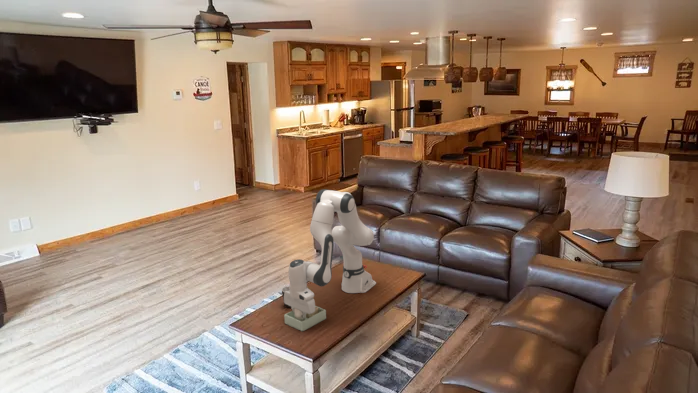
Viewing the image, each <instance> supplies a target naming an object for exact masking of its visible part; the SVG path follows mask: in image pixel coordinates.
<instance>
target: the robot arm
mask: <svg viewBox="0 0 698 393" xmlns="http://www.w3.org/2000/svg"><path fill="white" fill-rule="evenodd" d="M315 203H316V206H315V208H314V211H313V214H312V217H311V221H310V225H309V232H310V234H311V236H312V238H314V239H315V240H316V241H317V243H319V245H320V247H321V254H320V264H318V263H316V262H314V261H310V260H307V261H305V260H303V259H294V260H292V261H291V262H290V263H289V265H288V280H289V285H288V286H289V287H286V286H285V287H286V288H285V293H284V300H283V304H284V303H285V304H287V305H289V306H291V308H290V309H291V311H293V314H294V315H295V312H294V308H296V309H298V310H301V311H303V315H302V318H303V319H305V318H306V314H307V313H308V314H312V313H314V312H315V306H316V302H315V299H314V297H315V293H314V292H313V291H312V290H311V289H309V287H308V285H307V282H311V283H313V284H315V285H317V286H319V287H325V286H327V285H328V284H329V283H330V282H331V280H332V276H333V271H332V266H333V265H332V263H333V255H334V254H333V253H334V244H336V245H337V246H338V247H339V249H340V251H341V253H342V260H343V265H342V278H341V279H342V282H341V284H340V285H341V290H342V291H343V292H345V293H348V294H358V293H360V294H361V293H362V294H363V293H368V292H369V291H370V289H372V288H373V287H374V286H376V284H377V282H376V281H375V280H373V277H372V274H371V273H369V272H368V271H366V270H365V269H367V268H368V265H367V264H363V255H362V252H361V251H360V250H359V249H357V248H356V247H355V246H360V247H361V246H362V247H363V246H364V247H365V246H370V245H371V244H372V243H373V242H374V238H375V236H374V232H373V230H372V229H371V228H369V227H368V226H366V225H365V224H364V223H363V221H362V220H361V219H360V217H359V213H358V209H357V205H356V200H355V198H354V196H353V194H351V192H349V191H339V190H332V189H325V188H324V189H320V190H319V191H318V192H317V193H316V196H315ZM335 213H337V217H338V221H339V224H340V225H335V226H334V227H333V223H334V219H335V218H334V217H335Z"/></svg>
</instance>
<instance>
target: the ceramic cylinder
mask: <svg viewBox="0 0 698 393" xmlns="http://www.w3.org/2000/svg"><path fill="white" fill-rule="evenodd" d="M294 312H295V319H297V320H299V321H301V322H302V321H304V320H305V319H303V318H302V315H303V311H301V310H298V309H296V308H294Z"/></svg>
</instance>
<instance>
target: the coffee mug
mask: <svg viewBox="0 0 698 393" xmlns="http://www.w3.org/2000/svg"><path fill="white" fill-rule="evenodd" d="M286 287H289V285H288V286H284V287H282V288H281V293H282V294H281V295H282V299H283V301H284V293H285V288H286ZM283 305H284V308H285V307H286V309H292V308H291V306H289V305H287V304H285V303H284V302H283Z"/></svg>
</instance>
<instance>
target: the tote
mask: <svg viewBox="0 0 698 393" xmlns="http://www.w3.org/2000/svg"><path fill="white" fill-rule="evenodd" d="M315 307H318V314H316V315H314V316H312V317H310V318H305V320H304V321H302V322H301V321H299V320H297V319H295V315H294V314H293V310H291V311H289V312H287V313H284V316H283V318H284V324H285V325H287V326H289V327H291V328H293V329H296V330H298V331H300V332H304V331H306V330H308V329H310V328H312V327H313V326H316V325H317V324H319V323H321V322H323V321H324V320H327V310H326V309H324V308H322V307H321V306H317V305H315Z"/></svg>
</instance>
